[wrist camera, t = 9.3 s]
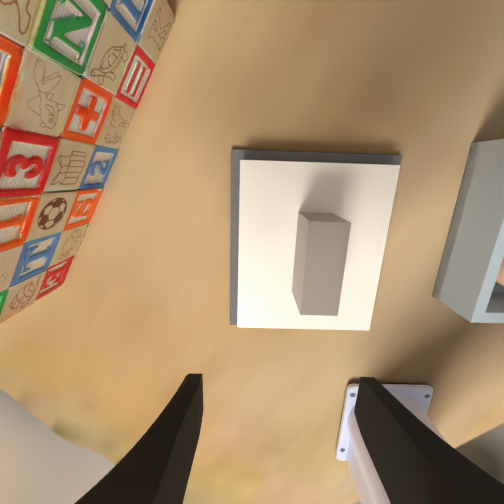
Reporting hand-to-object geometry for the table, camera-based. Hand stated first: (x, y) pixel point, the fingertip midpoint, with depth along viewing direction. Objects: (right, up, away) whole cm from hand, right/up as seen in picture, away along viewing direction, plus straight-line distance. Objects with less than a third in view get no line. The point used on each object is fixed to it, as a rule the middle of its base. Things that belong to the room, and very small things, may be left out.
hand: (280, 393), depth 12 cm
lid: (+3, +7, +8) cm, 11 cm away
